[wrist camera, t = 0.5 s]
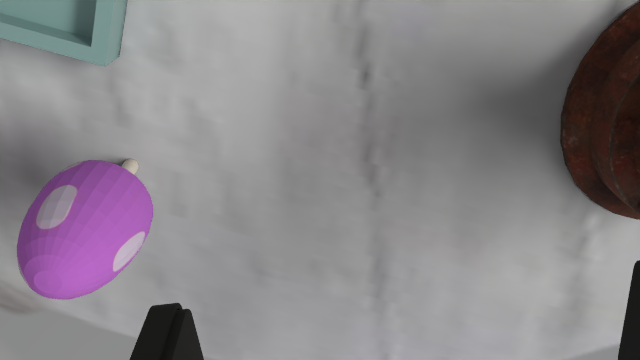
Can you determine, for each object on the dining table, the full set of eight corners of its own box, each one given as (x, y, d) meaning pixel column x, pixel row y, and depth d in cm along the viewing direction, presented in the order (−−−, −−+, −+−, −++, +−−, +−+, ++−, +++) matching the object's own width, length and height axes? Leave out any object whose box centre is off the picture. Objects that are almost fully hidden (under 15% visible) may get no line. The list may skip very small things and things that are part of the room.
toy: (68, 168, 41) (-48, 288, 27) (118, 105, 39) (21, 200, 25) (142, 220, 43) (69, 355, 29) (193, 162, 41) (141, 278, 27)
